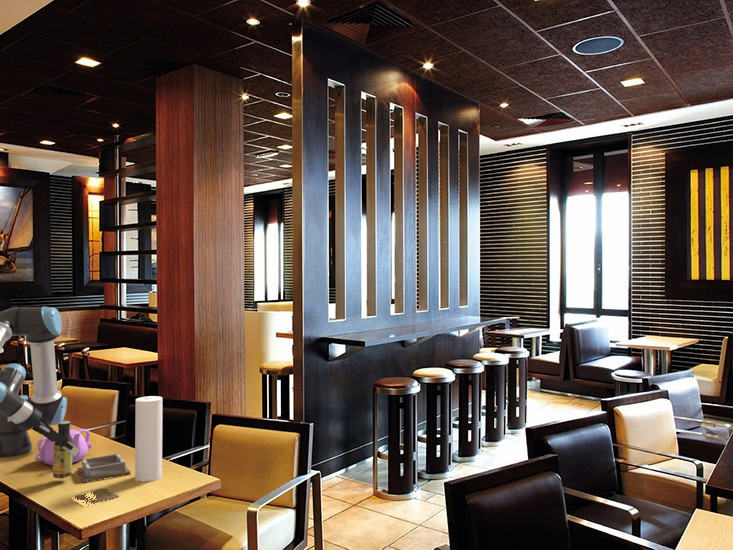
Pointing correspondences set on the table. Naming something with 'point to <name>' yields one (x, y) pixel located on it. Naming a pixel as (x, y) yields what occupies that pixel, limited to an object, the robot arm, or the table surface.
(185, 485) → the table surface
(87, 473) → the grey square tray
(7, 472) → the table surface
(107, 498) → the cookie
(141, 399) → the cylinder container
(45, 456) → the teapot
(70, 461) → the sauce bottle
